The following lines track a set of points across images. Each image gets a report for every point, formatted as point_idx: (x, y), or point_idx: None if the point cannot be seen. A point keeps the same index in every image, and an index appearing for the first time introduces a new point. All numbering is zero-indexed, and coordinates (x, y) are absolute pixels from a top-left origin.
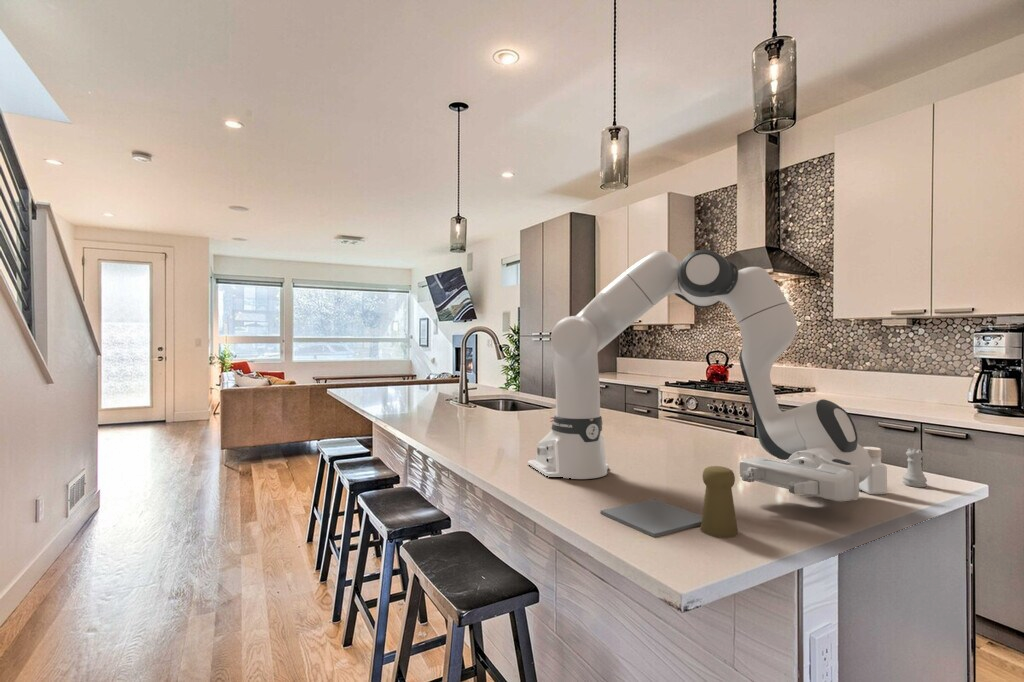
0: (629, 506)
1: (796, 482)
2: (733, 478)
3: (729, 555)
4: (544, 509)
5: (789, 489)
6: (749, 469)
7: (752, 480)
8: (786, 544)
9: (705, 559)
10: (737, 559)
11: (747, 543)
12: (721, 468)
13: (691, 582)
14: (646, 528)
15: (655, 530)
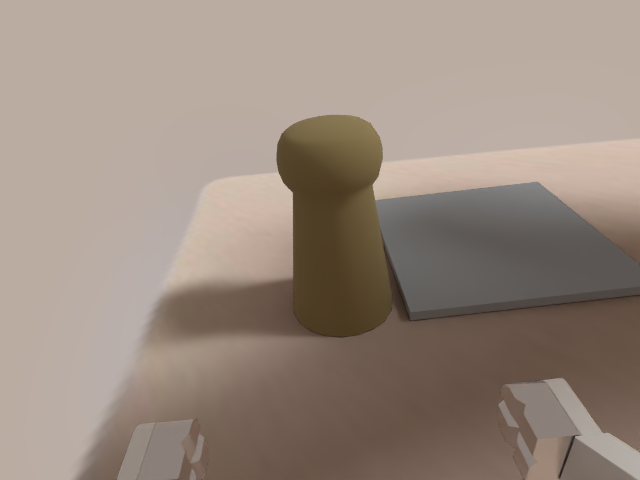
0: (567, 219)
1: (159, 466)
2: (277, 160)
3: (233, 252)
4: (573, 147)
5: (201, 439)
6: (632, 461)
7: (516, 455)
8: (172, 376)
9: (249, 223)
10: (213, 253)
11: (246, 306)
12: (309, 121)
13: (215, 190)
14: (400, 200)
15: (385, 206)
